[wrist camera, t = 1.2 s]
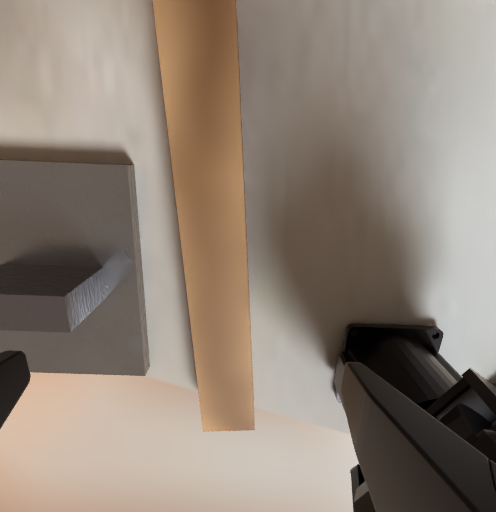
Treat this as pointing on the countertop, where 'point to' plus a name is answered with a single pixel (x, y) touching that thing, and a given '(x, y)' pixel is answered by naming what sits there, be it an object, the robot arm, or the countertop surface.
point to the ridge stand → (72, 268)
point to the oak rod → (210, 198)
